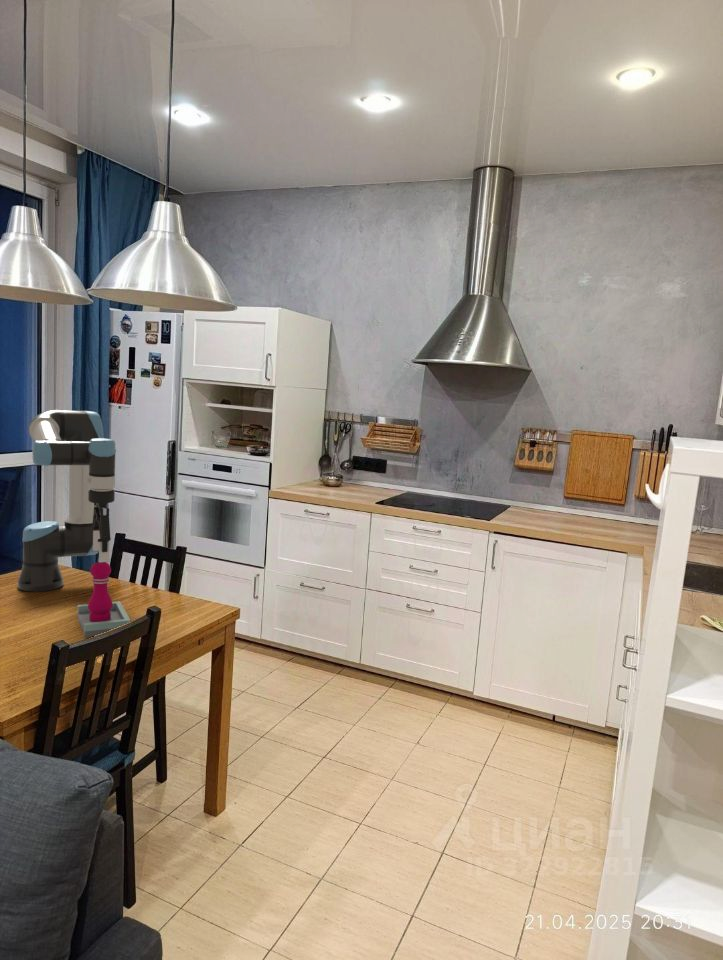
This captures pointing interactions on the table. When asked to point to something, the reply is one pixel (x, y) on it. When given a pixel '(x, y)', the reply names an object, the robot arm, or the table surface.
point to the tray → (95, 628)
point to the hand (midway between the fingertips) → (100, 555)
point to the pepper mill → (100, 593)
